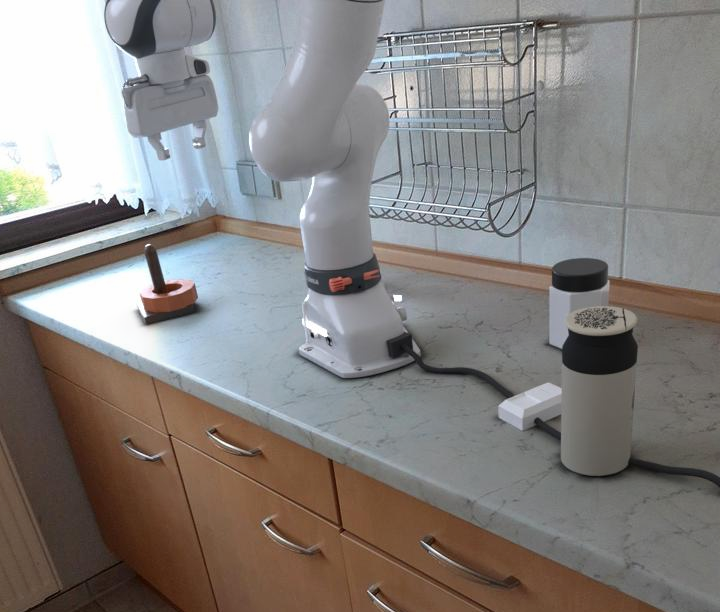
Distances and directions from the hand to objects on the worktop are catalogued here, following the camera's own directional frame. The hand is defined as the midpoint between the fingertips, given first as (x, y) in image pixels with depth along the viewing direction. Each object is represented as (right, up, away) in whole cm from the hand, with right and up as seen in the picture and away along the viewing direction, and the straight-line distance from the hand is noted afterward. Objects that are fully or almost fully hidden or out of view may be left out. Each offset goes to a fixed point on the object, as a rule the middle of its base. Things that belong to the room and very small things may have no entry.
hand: (182, 153), depth 147 cm
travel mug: (+61, -58, -52) cm, 99 cm away
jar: (+67, -39, -23) cm, 81 cm away
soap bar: (+57, -52, -40) cm, 87 cm away
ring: (-6, -24, +14) cm, 29 cm away
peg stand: (-7, -26, +15) cm, 31 cm away
